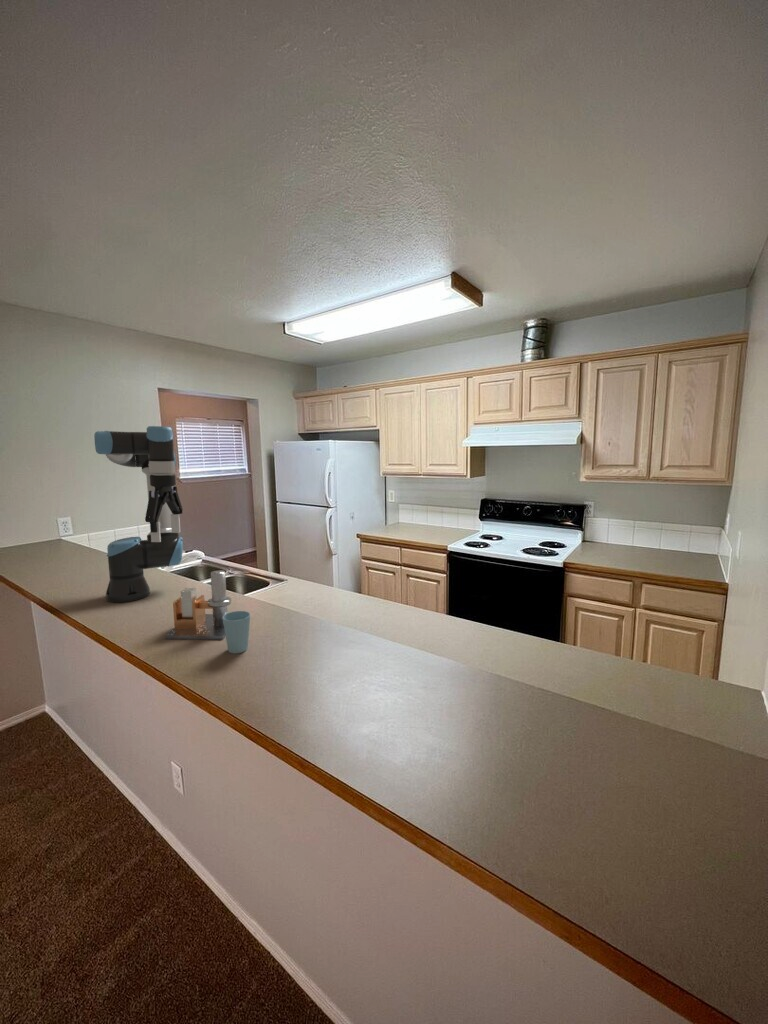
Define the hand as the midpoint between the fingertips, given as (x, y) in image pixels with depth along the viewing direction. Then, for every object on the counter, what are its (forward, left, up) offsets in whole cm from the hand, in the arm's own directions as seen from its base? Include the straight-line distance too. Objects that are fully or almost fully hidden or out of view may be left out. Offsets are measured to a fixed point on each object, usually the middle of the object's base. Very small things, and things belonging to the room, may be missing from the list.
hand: (166, 537), depth 144 cm
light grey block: (+7, +10, -28) cm, 30 cm away
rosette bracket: (+6, +15, -29) cm, 33 cm away
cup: (+22, +31, -29) cm, 48 cm away
